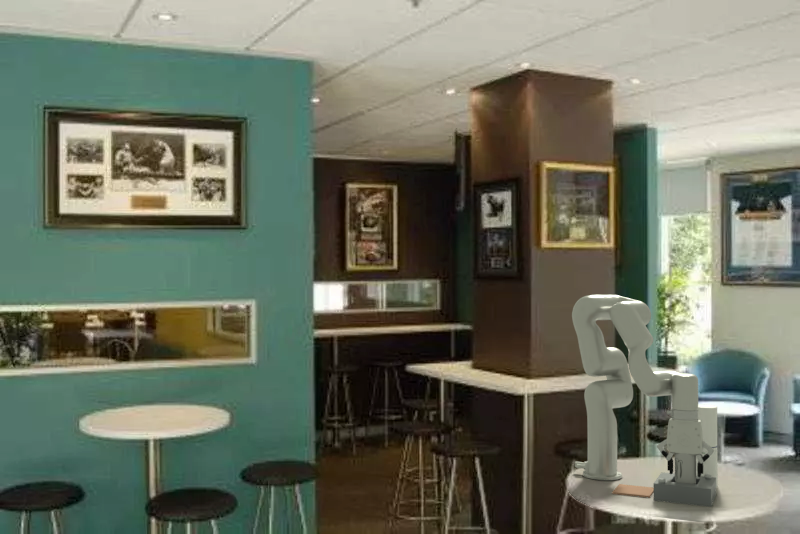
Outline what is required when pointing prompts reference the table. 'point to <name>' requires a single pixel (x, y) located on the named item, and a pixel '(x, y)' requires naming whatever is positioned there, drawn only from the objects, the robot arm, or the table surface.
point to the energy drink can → (685, 468)
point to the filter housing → (685, 490)
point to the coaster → (633, 490)
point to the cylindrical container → (709, 438)
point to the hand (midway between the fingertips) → (685, 474)
